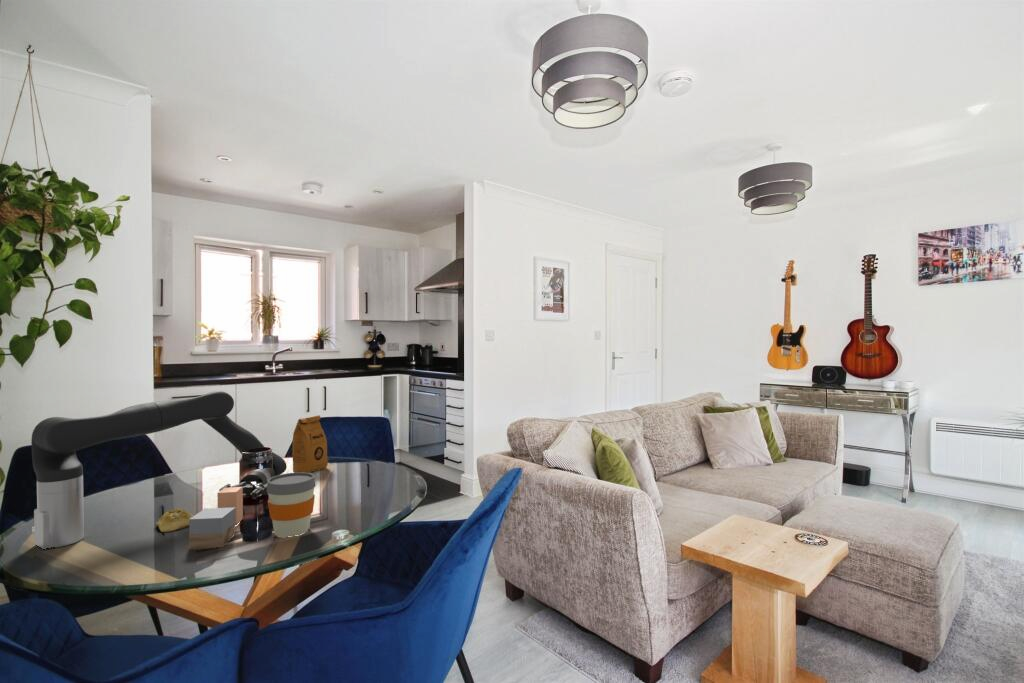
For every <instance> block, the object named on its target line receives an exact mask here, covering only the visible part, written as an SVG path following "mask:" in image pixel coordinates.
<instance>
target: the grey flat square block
mask: <svg viewBox="0 0 1024 683" xmlns="http://www.w3.org/2000/svg"><path fill="white" fill-rule="evenodd" d="M235 522H236V507H233V508H218V507H213V508H212V507H211V508H204V509H202V510H200V511H199V512H198V513H196V514H195V515H194V516H193V517H192V518H190V519H189V526H188V527H189V528H188V529H189V530H188V531H189V535H195V534H218V533H223V532H224V531H226V530H227V529H228V528H229V527H230V526H232V525H233V524H234V523H235ZM189 535H188V536H189Z"/></svg>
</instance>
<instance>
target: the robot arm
mask: <svg viewBox="0 0 1024 683" xmlns="http://www.w3.org/2000/svg"><path fill="white" fill-rule="evenodd" d="M234 400H235V399H234V398H233V396H232V395H231V394H229V393H228V392H226V391H222V390H214V391H211V392H208V393H205V394H202V395H198V396H195V397H190V398H189V397H188V398H183V399H181V398H178V399H168V400H161V401H152V402H146V403H140V404H135V405H131V406H128V407H124V408H123V409H120V410H118V411H115V412H113V413H110V414H106V415H100V416H99V415H98V416H90V417H82V418H81V417H79V418H70V417H63V416H53V417H48V418H45V419H43V420H41V421H40V422H38V423H37V424H36V425H35V427H34V429H33V430H32V433H31V456H32V457H31V459H32V460H31V461H32V468H33V471H34V473H35V476H36V505H37V506H36V508H35V509H33V510H34V511H33V521H34V522H33V523H34V525H33V526H34V528H33V529H34V530H33V531H34V533H33V534H34V545H35V544H36V545H37V546H39V547H41V548H42V549H41V548H40V549H41V550H43V549H45V550H47V549H46V548H49V549H53V547H55V548H60V547H65V546H69V545H72V544H75V543H77V542H80V541H81V540H83V539H84V538H85V524H84V522H85V521H84V520H85V519H84V517H85V516H84V468H83V467H84V466H83V464H82V463H81V461H80V460H79V459H78V456H77V453H76V451H79V450H82V449H86V448H88V447H92V446H95V445H99V444H103V443H105V442H110V441H116V440H122V439H129V438H134V437H139V436H140V437H141V436H145V435H149V434H155V433H158V432H162V431H166V430H168V429H173V428H175V427H178V426H181V425H183V424H187V423H190V422H194V421H198V420H201V421H203V422H204V423H206V424H207V425H208V426H209V427H211V428H212V429H213V430H214V431H216V432H217V433H219V435H220V436H222V437H223V438H224V439H226V440H227V441H228V442H229V443H230V444H231V445H232V446H233V447H234V448H235V449H236V450H238V452H239V453H240V454H241V455H242V452H244V451H248V450H251V449H255V448H267V447H266V446H265V445H264V444H263V443H262V442H261V441H260V439H259V438H258V437H256V436H255V435H254V434H253V433H252V432H251V431H249V430H247V429H245V428H244V427H242V426H241V425H239V424H237V423H236V422H235V421H233V420H232V419H231V418H230V417H229V416H228V415H229V414H230V413H231V412H232V411H233V408H234V406H235V401H234ZM248 452H249V451H248ZM271 452H272V455H273V468H272V469H271V468H264V469H255V468H254V469H255V470H254V469H253V470H251V471H250V472H248V473H247V474H246V475H244V476H243V477H241V480H240V481H239V483H238V484H237V483H236V484H233V485H231V483H227V484H226V485H224V486H222V487H221V488H219V491H221V490H222V489H223V488H229V487H243V496H246V497H249V498H251V499H252V500H256V499H257V498H258V497H261V496H262V495H264V496H269V495H268V493H267V482H268V479H270V478H272V477H274V476H278V475H282V474H284V473H285V472H286V471H287V463H286V460H284V458H282V456H280V455H279V454H277V453H275V452H273V451H271ZM37 546H36V547H37ZM39 547H38V548H39ZM51 547H52V548H51Z"/></svg>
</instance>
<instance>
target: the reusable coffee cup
mask: <svg viewBox="0 0 1024 683" xmlns="http://www.w3.org/2000/svg"><path fill="white" fill-rule="evenodd" d="M316 485H317V484H316V477H315V474H314V473H312V472H310V473H304V472H298V473H294V472H289V473H288V472H287V473H282V474H280V475H278V476H274V477H272V478H270V479H268V482H267V493H268V495H267V496H268V500H267V506H268V512H269V513H268V514H269V518H270V519H271V521H272V527H273V533H274V534H275V535H277V536H280V537H288V536H295V535H300V534H302V533H304V532H306V531H307V530H308V529H309V530H310V528H311V527H310V525H311V518H312V514H313V513H314V505H315V497H316V496H315V494H314V492H315V487H316ZM274 534H273V535H274ZM275 535H274V536H275Z"/></svg>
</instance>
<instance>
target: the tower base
mask: <svg viewBox="0 0 1024 683" xmlns="http://www.w3.org/2000/svg"><path fill="white" fill-rule="evenodd" d="M235 528H236V527H235V523H234V524H233V525H232V526H230V527H229V528H228V529H227V530H226V531H224V532H223V533H218V534H195V535H188V548H189V550H204V549H205V550H206V549H217V548H216V547H222V548H224V547H225V546H226V545H227V544H228V543H227V541H228V540H229V539H230V538H231V537H232V536H233V535H234V534H235V533H236V531H235V530H236V529H235ZM235 535H236V534H235ZM226 543H227V544H226ZM225 544H226V545H225ZM224 545H225V546H224ZM223 546H224V547H223Z"/></svg>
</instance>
